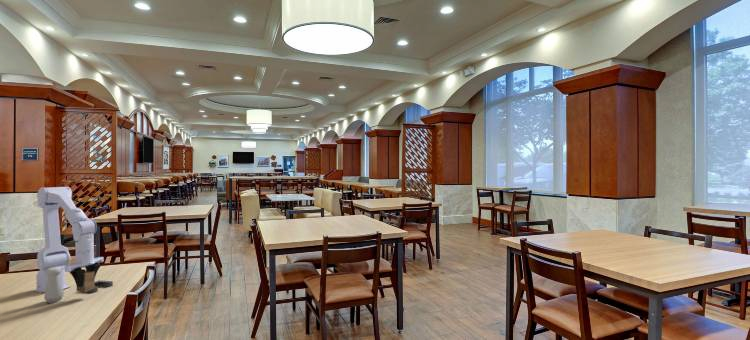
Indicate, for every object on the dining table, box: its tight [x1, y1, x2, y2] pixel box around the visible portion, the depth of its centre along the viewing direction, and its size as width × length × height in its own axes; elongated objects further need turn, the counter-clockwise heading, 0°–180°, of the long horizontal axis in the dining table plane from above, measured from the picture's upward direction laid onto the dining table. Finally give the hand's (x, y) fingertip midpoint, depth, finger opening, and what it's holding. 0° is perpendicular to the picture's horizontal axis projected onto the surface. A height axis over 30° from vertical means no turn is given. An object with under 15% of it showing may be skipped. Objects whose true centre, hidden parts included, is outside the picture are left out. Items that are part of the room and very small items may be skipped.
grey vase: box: [43, 267, 65, 304], centre depth 142 cm, size 6×6×13 cm
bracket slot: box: [85, 279, 114, 293], centre depth 157 cm, size 7×9×2 cm
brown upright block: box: [76, 270, 96, 293], centre depth 146 cm, size 4×4×7 cm
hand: (85, 284), depth 146 cm, fingers closed on brown upright block, 4 cm apart
